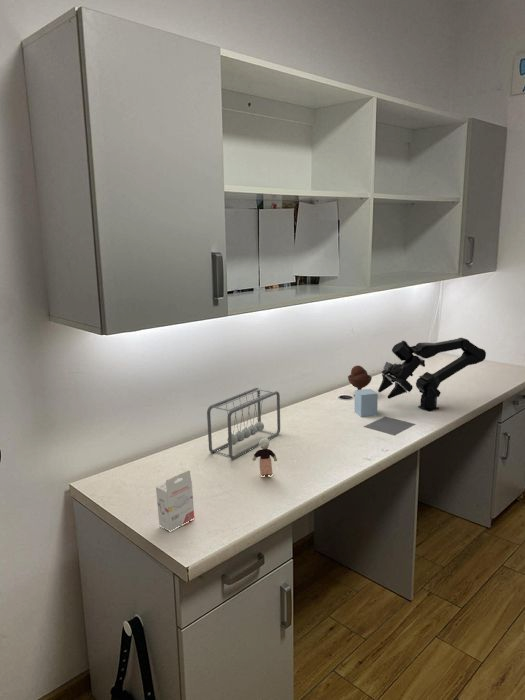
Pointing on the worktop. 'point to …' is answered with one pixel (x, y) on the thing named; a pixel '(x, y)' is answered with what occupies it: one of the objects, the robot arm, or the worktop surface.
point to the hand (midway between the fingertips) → (383, 394)
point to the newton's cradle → (251, 429)
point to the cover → (366, 402)
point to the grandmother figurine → (265, 457)
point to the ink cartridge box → (175, 501)
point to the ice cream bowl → (359, 377)
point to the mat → (389, 425)
